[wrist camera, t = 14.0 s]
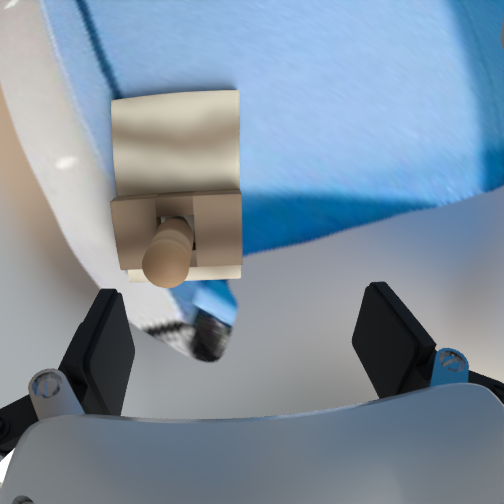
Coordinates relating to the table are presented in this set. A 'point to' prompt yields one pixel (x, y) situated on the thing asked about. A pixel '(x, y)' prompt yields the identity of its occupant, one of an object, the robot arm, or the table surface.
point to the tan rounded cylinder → (169, 253)
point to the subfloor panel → (179, 178)
